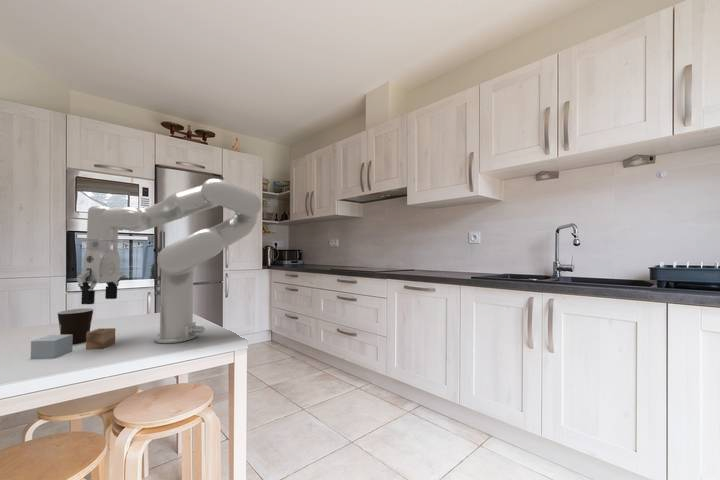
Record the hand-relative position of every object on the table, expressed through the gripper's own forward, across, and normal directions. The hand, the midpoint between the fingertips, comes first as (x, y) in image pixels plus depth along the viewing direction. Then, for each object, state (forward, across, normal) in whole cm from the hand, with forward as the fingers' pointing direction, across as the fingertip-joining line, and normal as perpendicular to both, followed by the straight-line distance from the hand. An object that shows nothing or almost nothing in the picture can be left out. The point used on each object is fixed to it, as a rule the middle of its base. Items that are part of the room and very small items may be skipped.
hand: (100, 301), depth 96 cm
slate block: (+14, -6, +8) cm, 17 cm away
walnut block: (+14, 0, -1) cm, 14 cm away
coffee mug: (+14, +7, +11) cm, 20 cm away
